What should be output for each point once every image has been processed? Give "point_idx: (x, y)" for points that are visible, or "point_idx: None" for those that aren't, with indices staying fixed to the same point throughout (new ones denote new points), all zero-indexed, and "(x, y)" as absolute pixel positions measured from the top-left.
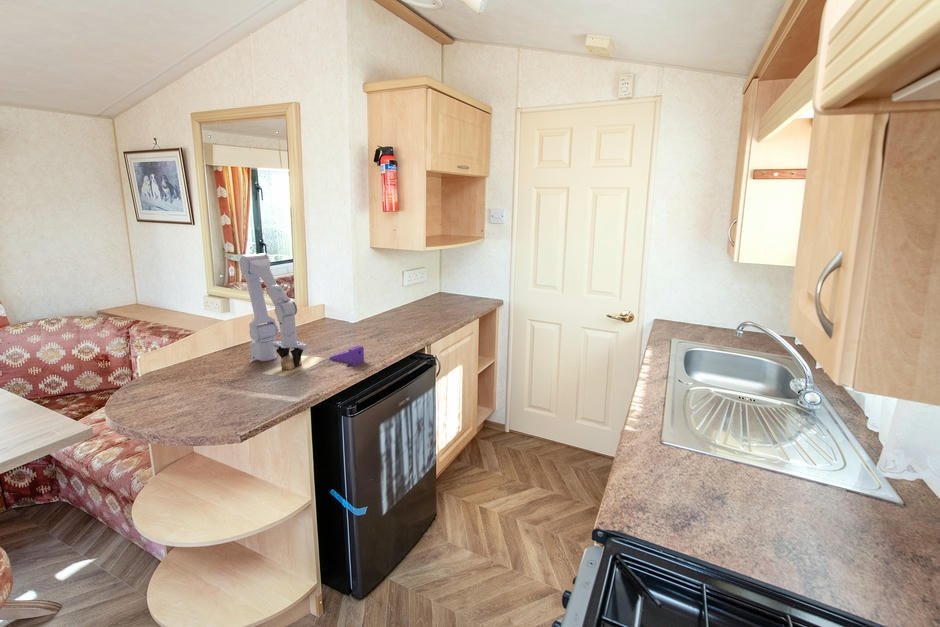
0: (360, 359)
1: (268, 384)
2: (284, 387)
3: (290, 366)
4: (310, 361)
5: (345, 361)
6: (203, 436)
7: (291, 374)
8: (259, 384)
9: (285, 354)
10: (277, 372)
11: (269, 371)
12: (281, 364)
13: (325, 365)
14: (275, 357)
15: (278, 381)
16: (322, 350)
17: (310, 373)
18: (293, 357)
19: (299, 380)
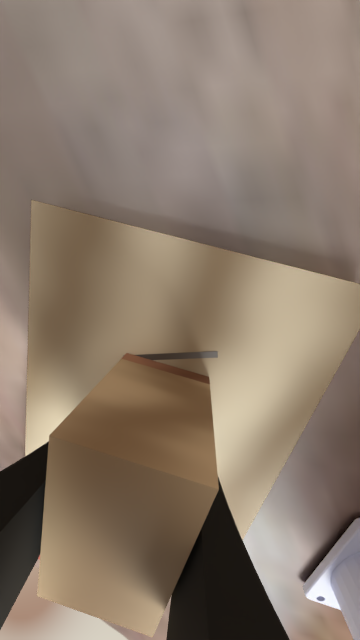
0: None
1: (224, 80)
2: (37, 8)
3: (108, 376)
4: None
5: None
6: None
7: (77, 267)
8: (320, 69)
9: (184, 616)
10: (222, 317)
11: (308, 345)
12: (206, 409)
13: (5, 456)
14: (343, 594)
15: (161, 175)
16: None
17: (14, 344)
18: (15, 497)
19: (9, 208)
